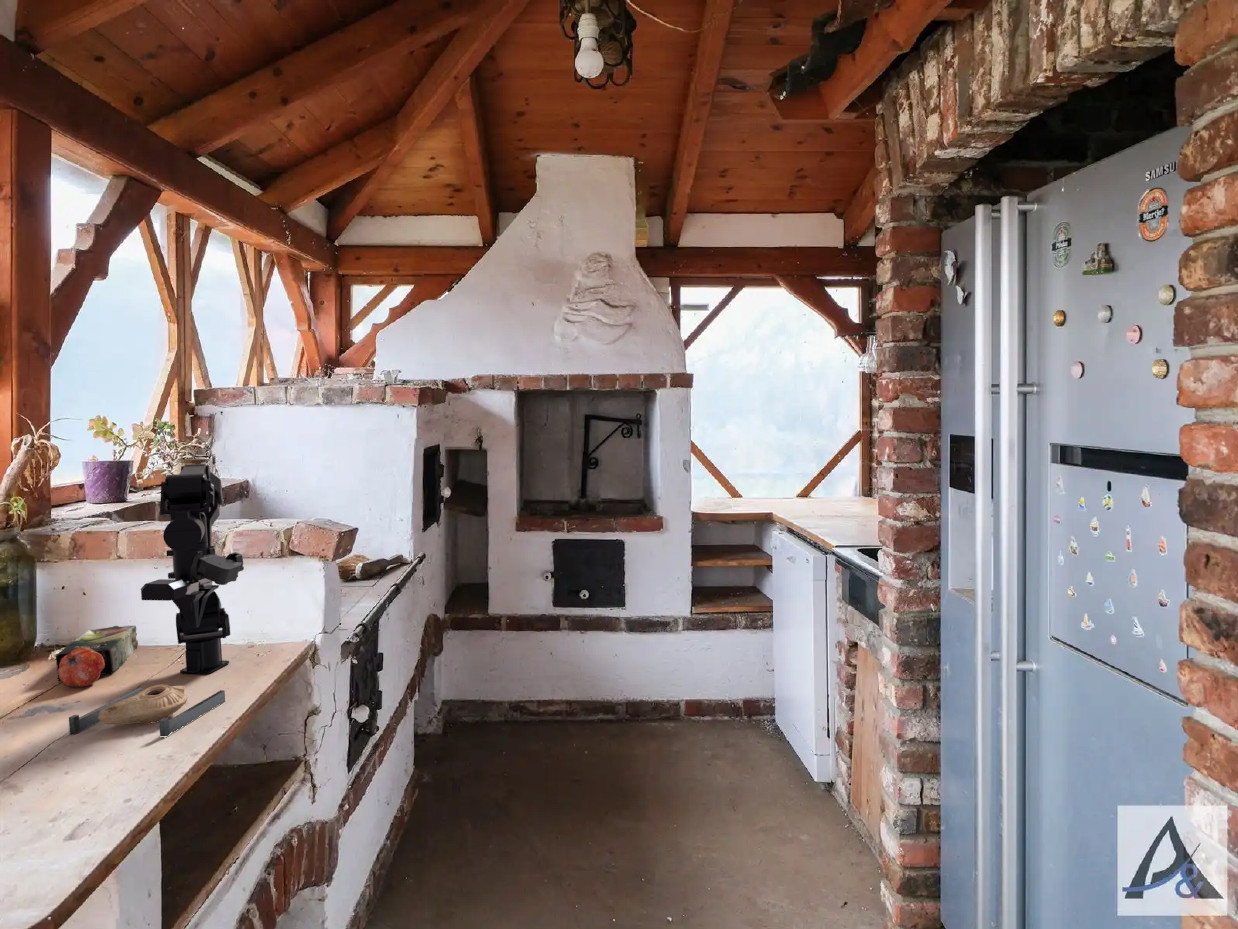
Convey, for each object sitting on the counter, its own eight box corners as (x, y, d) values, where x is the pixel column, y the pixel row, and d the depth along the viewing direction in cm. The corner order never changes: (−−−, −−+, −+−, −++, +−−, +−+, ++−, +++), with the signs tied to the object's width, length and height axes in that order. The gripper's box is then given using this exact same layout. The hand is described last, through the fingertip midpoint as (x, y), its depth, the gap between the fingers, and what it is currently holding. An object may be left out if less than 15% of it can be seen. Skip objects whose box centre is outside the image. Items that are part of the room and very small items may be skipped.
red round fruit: (72, 691, 148) (35, 675, 140) (92, 655, 152) (57, 637, 143) (105, 697, 147) (70, 681, 138) (125, 660, 151) (92, 643, 142)
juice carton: (88, 652, 166) (86, 625, 165) (140, 647, 169) (138, 620, 168) (54, 685, 147) (52, 653, 146) (114, 678, 150) (112, 648, 149)
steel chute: (139, 698, 137) (138, 683, 137) (225, 701, 135) (224, 686, 135) (69, 734, 123) (68, 717, 122) (165, 738, 120) (164, 720, 120)
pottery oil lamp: (91, 725, 125) (104, 681, 128) (172, 731, 132) (182, 688, 135) (100, 721, 119) (113, 675, 122) (185, 727, 126) (195, 683, 129)
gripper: (196, 552, 128) (201, 643, 130) (261, 534, 147) (265, 614, 148) (135, 552, 130) (141, 642, 131) (207, 534, 148) (212, 613, 149)
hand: (195, 627), depth 140 cm, fingers closed
